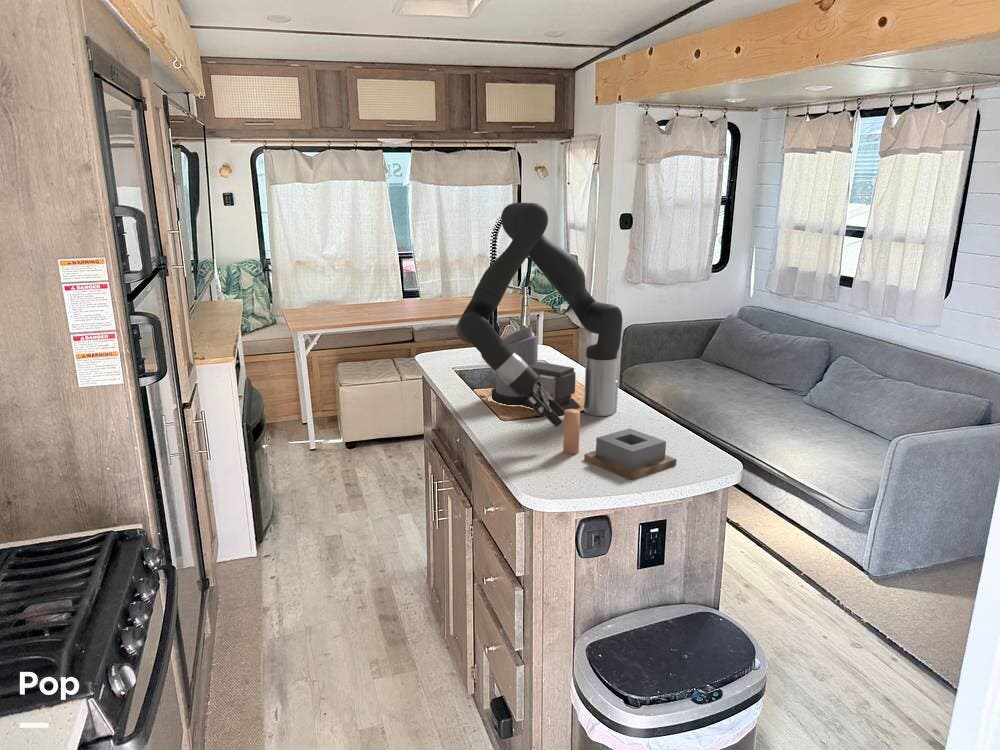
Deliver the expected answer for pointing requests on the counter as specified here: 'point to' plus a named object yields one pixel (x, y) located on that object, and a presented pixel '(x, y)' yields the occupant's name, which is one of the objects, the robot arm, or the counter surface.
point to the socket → (630, 448)
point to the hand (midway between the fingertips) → (560, 419)
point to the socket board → (626, 471)
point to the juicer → (550, 375)
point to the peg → (571, 431)
